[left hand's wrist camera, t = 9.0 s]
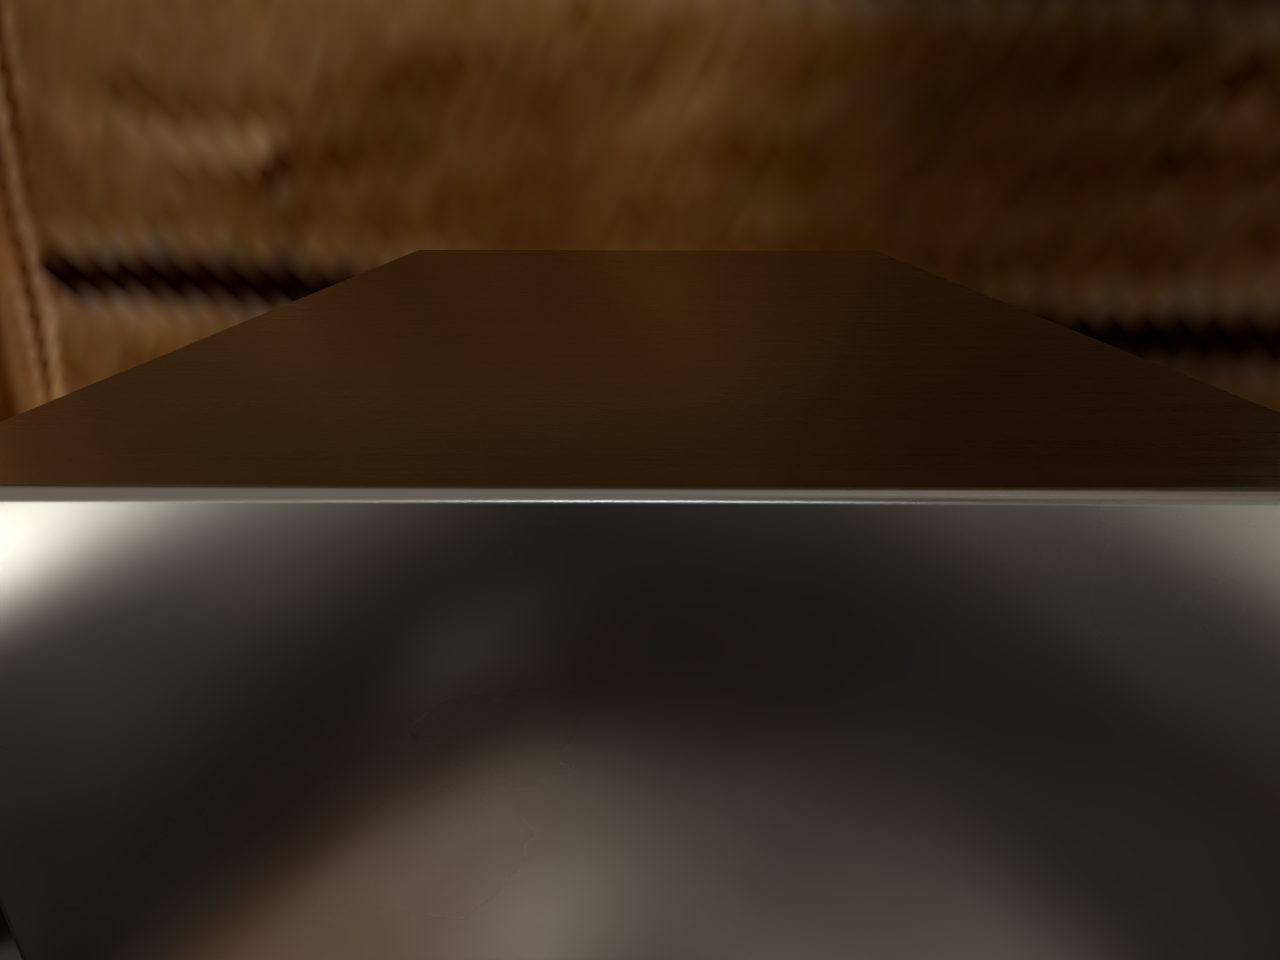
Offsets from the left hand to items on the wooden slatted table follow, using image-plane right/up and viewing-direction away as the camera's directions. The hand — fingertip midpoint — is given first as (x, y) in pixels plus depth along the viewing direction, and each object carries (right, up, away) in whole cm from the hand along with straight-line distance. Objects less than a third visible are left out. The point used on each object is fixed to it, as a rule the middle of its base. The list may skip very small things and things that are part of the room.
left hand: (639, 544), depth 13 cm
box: (0, -8, +6) cm, 10 cm away
